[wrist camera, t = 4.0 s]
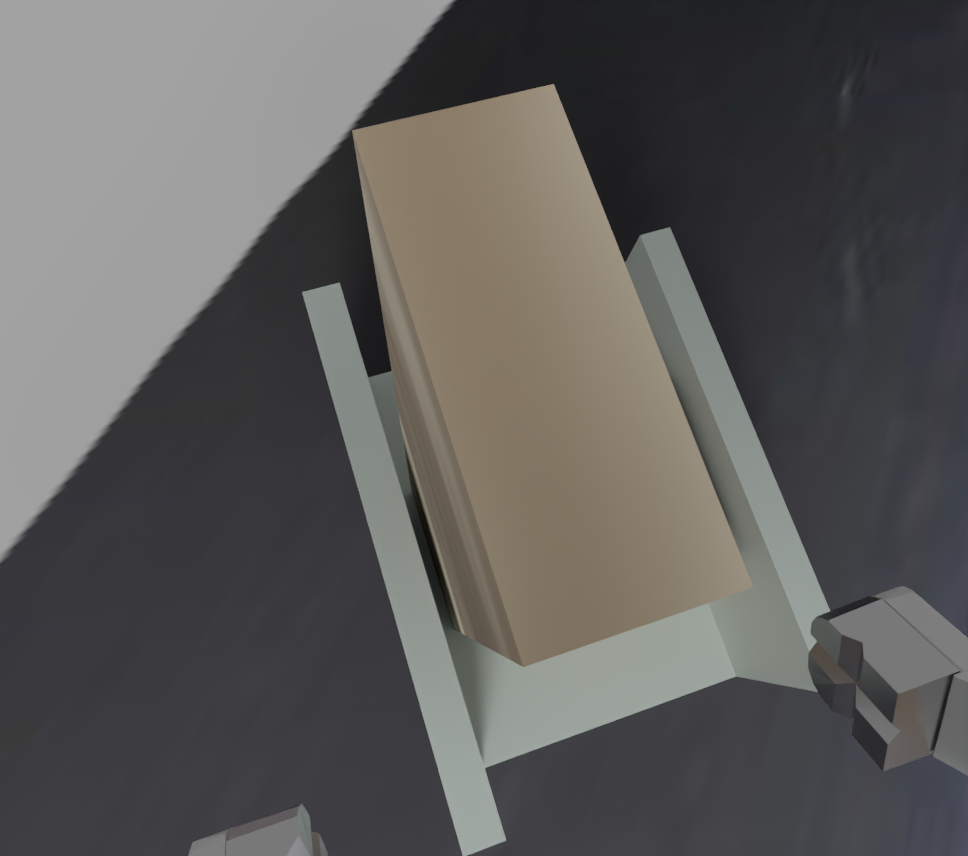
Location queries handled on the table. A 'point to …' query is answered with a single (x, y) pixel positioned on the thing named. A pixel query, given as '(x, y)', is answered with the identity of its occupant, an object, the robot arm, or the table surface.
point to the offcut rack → (615, 660)
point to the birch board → (532, 386)
